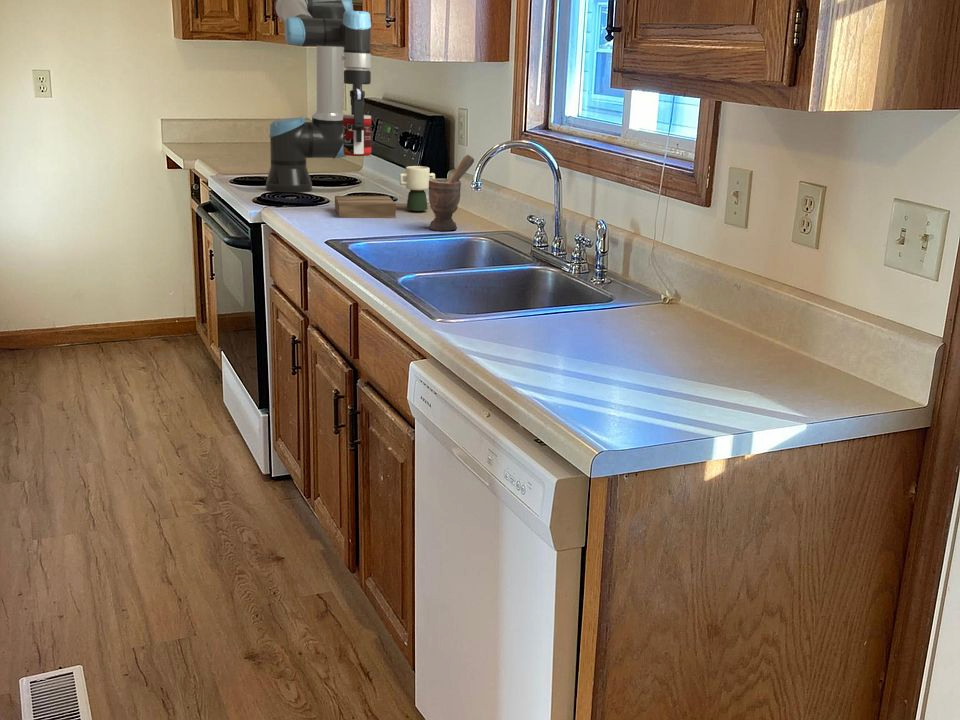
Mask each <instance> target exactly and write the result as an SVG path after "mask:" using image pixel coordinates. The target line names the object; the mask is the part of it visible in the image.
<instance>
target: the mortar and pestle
mask: <svg viewBox="0 0 960 720" xmlns="http://www.w3.org/2000/svg"><path fill="white" fill-rule="evenodd" d="M474 162H475V159H474V157H473V156H471V155H469V154H466V155H465V156H464V157H463V158H462V160H461V161H460V163H459V164H458V167H457V168H456V170H455V172H454V173H453V175H452V176H451V178H435V179H432V178H429V189H428V202H429V204H430V206H429V207H430V210H432V212H433V214H434V216H435V218H434V219H433V220H432V221H430V224H429V226H428V227H429V228H430V230H433V231H438V232H439V231H440V232H441V231H443V232H445V231H446V232H447V231H448V232H449V231H454V230H457V224H456V222H455V221H454V220H453V214H454V213H456V212H457V210H458V205H459V203H460V200H461V190H462V189H461V188H462V185H461V184H462V181H461V178H463V176H464V174H465V173H466V172H467V171H468V170H469V169H470V168H471V166H472V165H473V164H474Z"/></svg>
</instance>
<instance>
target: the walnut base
mask: <svg viewBox="0 0 960 720" xmlns="http://www.w3.org/2000/svg"><path fill="white" fill-rule="evenodd" d="M396 208H397V204H396V203H395V201H394V200H393V199H392V198H391V197H390V195H334V210H335V212H336V215H337V217H338V218H339V219H370V218H371V219H396V216H397V214H396V211H397V210H396Z"/></svg>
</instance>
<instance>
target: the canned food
mask: <svg viewBox="0 0 960 720" xmlns="http://www.w3.org/2000/svg"><path fill="white" fill-rule="evenodd" d="M352 127H354V115H351V114H345V115H343V152H344V155H347V156H349V157H368V156H372V155H371V154H372V115H369V114H364V129H363V130H364V154H354V130H352ZM347 156H346V157H347Z"/></svg>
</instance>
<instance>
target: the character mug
mask: <svg viewBox="0 0 960 720" xmlns="http://www.w3.org/2000/svg"><path fill="white" fill-rule="evenodd" d="M430 177H431V179H436V174H435V173H434V172H431V173H430V167H428V166H422V165H420V166H419V165H411V166H409V165H408V166H405V172H404V173H400V174H399V185H400V186H405V188H406V189H407V190H409V192H408V195H407V201H406V210H411V212H412V211H413V212H414V211H417V212H423V211H427V210H428V199H427V198H428V197H427V193H426V192H425V191H427V190H429V179H430ZM404 178H405V181H404Z"/></svg>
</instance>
